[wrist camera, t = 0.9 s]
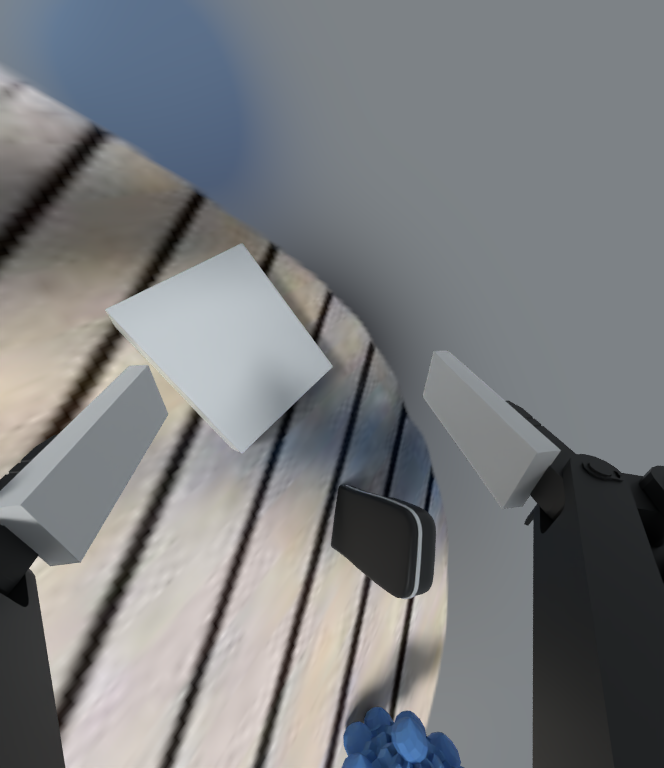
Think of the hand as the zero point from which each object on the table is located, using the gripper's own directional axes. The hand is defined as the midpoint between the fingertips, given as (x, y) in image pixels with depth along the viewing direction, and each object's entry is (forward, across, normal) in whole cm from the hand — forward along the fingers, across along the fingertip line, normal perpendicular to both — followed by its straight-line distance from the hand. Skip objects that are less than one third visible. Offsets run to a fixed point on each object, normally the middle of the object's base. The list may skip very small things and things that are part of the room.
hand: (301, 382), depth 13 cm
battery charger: (+7, +4, -23) cm, 24 cm away
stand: (+14, -6, -5) cm, 16 cm away
